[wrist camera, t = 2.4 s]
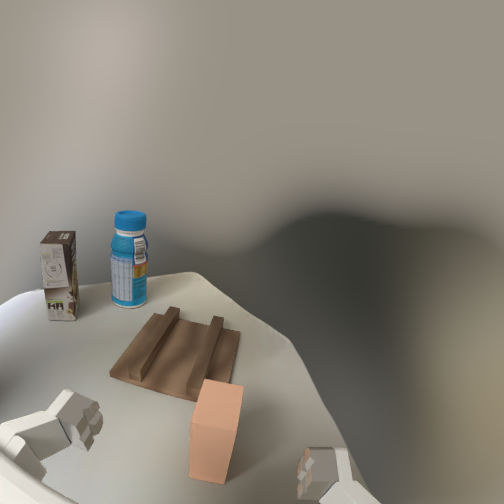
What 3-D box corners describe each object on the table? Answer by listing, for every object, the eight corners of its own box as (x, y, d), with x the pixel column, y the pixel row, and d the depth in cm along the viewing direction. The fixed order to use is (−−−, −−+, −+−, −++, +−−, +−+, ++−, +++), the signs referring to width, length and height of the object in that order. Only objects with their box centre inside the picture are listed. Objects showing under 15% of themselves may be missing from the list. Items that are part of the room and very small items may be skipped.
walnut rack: (110, 376, 37) (107, 359, 36) (154, 317, 56) (154, 302, 55) (223, 407, 37) (225, 392, 36) (239, 335, 56) (241, 321, 55)
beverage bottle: (110, 309, 55) (109, 217, 49) (112, 291, 62) (112, 208, 56) (148, 309, 58) (151, 218, 52) (146, 292, 66) (149, 210, 60)
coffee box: (76, 321, 48) (69, 243, 43) (48, 320, 45) (38, 243, 40) (80, 299, 55) (76, 230, 51) (55, 299, 52) (49, 229, 48)
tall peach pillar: (189, 477, 24) (190, 421, 21) (199, 441, 30) (204, 378, 26) (224, 484, 24) (236, 431, 21) (230, 447, 30) (243, 386, 26)
